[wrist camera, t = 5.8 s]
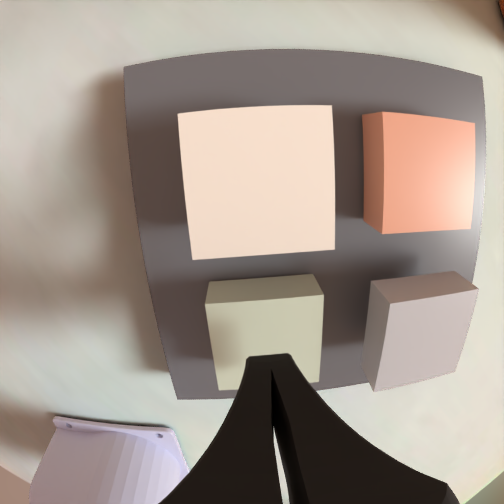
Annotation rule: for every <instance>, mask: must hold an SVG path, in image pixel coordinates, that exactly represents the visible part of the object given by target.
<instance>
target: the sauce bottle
mask: <svg viewBox="0 0 504 504" xmlns="http://www.w3.org/2000/svg"><path fill="white" fill-rule="evenodd" d="M499 4H500V9H501V12H502V15H503V18H504V0H499Z"/></svg>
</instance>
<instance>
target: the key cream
mask: <svg viewBox="0 0 504 504" xmlns="http://www.w3.org/2000/svg"><path fill="white" fill-rule="evenodd" d="M178 126H179V139H180V151H181V162H182V173H183V183H184V193H185V202H186V211H187V220H188V228H189V236H190V244H191V252H192V259H193V260H199V259H213V258H227V257H241V256H255V255H268V254H282V253H295V252H309V251H322V250H335V165H334V137H333V117H332V105H283V106H257V107H240V108H227V109H215V110H205V111H196V112H187V113H179V114H178Z"/></svg>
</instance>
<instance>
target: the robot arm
mask: <svg viewBox="0 0 504 504" xmlns="http://www.w3.org/2000/svg"><path fill="white" fill-rule="evenodd" d="M53 423H54V424H55V426H56V427H57V428H56V430H55V432H54V435H53V437H52V439H51V441H50V443H49V445H48V447H47V449H46V451H45V453H44V455H43V458H42V460H41V462H40V464H39V466H38V469H37V471H36V473H35V475H34V478H33V480H32V483H31V486H30V492H29V504H283V502H282V496H281V489H280V483H279V476H278V469H277V463H276V456H275V449H274V432H273V426H274V430H275V435H276V439H277V443H278V448H279V452H280V456H281V460H282V465H283V469H284V473H285V477H286V482H287V488H288V494H289V502H290V504H460V503H459V501H458V499H457V498H456V496H455V494H454V493H453V491H452V490H451V489H450V487H449V486H448V484H447V483H445V482H442V481H440V480H437V479H435V478H432V477H430V476H427V475H425V474H423V473H420V472H418V471H416V470H414V469H412V468H410V467H408V466H406V465H404V464H403V463H401V462H399V461H397V460H395V459H394V458H392V457H391V456H389V455H388V454H386V453H384V452H383V451H381V450H380V449H378V448H377V447H375V446H374V445H372V444H371V443H370V442H368V441H367V440H366V439H364V438H363V437H362V436H360V435H359V434H358V433H357V432H356V431H354V430H353V429H352V428H351V427H350V426H349V425H347V424H346V423H345V422H344V421H343V420H342V419H341V418H340V417H339V416H338V415H337V414H336V413H335V412H334V411H333V410H332V409H331V408H330V407H329V406H328V405H327V404H326V403H325V401H324V400H323V399H322V398H321V397H320V396H319V394H318V393H317V392H316V391H315V390H314V388H313V387H312V386H311V385H310V383H309V382H308V381H307V379H306V378H305V377H304V375H303V374H302V372H301V371H300V369H299V368H298V366H297V365H296V363H295V361H294V360H293V358H292V356H291V355H290V354H289V353H282V354H271V355H259V356H249V357H248V358H247V359H246V364H245V369H244V373H243V377H242V380H241V383H240V386H239V389H238V391H237V394H236V396H235V399H234V401H233V404H232V406H231V408H230V410H229V412H228V414H227V416H226V418H225V420H224V422H223V424H222V426H221V427H220V429H219V431H218V433H217V434H216V436H215V438H214V439H213V441H212V442H211V444H210V445H209V447H208V448H207V450H206V451H205V452H204V454H203V455H202V456H201V458H200V459H199V460H198V462H197V463H196V464H195V466H194V467H193V468H192V469H191V471H190V470H189V468H188V465H187V463H186V461H185V458H184V456H183V453H182V451H181V448H180V445H179V443H178V440H177V438H176V435H175V432H174V431H173V430H172V429H170V428H164V427H144V426H130V425H119V424H109V423H101V422H93V421H85V420H78V419H72V418H66V417H60V416H55V417H54V418H53Z"/></svg>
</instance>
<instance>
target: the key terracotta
mask: <svg viewBox="0 0 504 504" xmlns="http://www.w3.org/2000/svg"><path fill="white" fill-rule="evenodd" d="M362 124H363V152H364V214H363V221H364V222H366V223H367V224H369V225H370V226H371V227H373V228H374V229H376V230H377V231H378V232H380V233H381V234H394V233H410V232H426V231H442V230H459V229H471V221H472V211H473V198H474V182H475V123H471V122H465V121H459V120H453V119H446V118H439V117H431V116H423V115H414V114H404V113H393V112H377V113H370V114H364V115H362Z"/></svg>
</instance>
